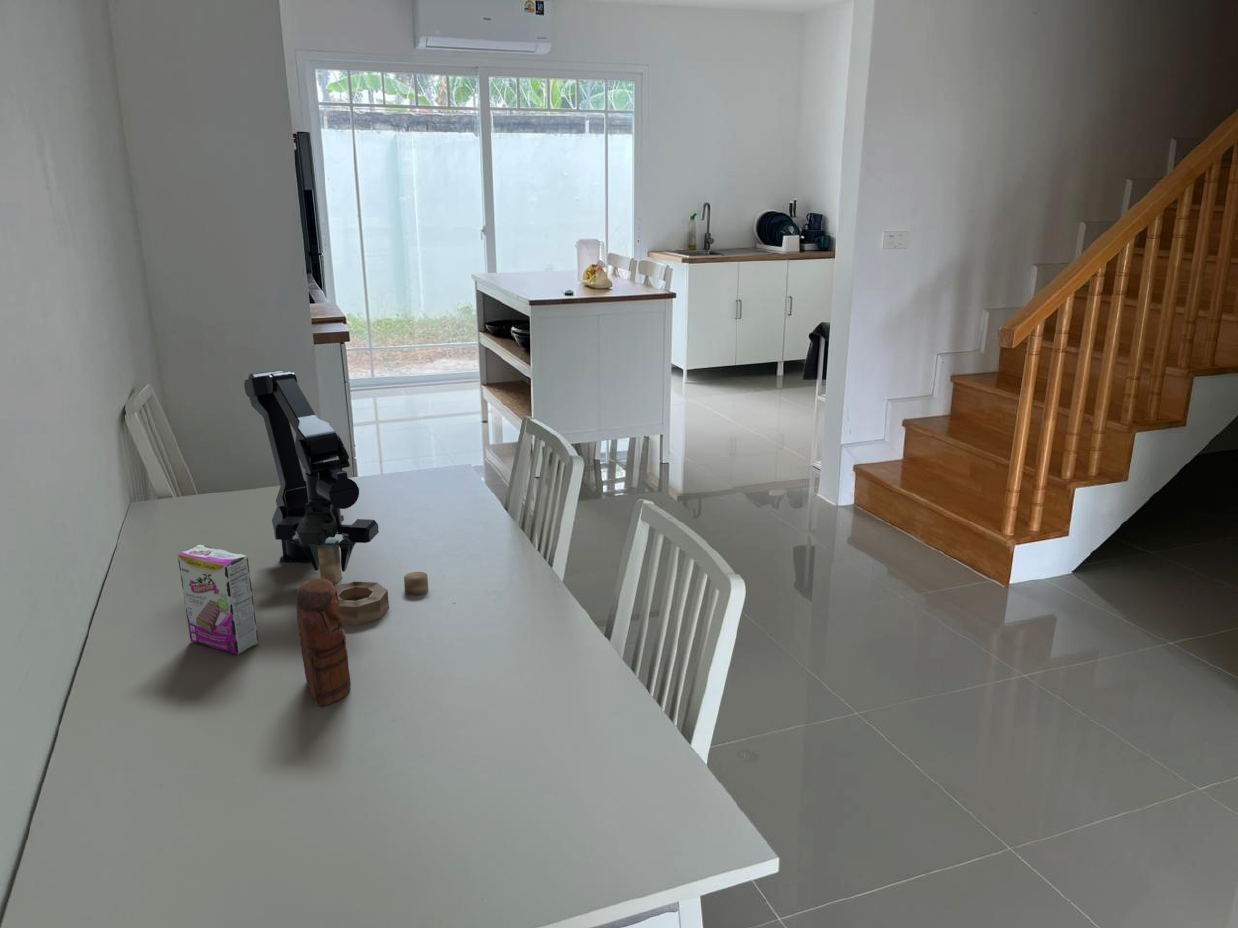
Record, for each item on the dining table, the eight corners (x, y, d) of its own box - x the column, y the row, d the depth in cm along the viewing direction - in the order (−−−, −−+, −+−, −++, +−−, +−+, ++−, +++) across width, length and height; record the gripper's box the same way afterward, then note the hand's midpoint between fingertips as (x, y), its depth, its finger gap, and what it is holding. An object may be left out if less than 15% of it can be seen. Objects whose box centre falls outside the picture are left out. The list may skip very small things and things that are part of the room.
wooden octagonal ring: (317, 623, 167) (316, 605, 166) (340, 597, 177) (338, 580, 176) (375, 625, 166) (373, 607, 165) (394, 600, 176) (393, 583, 175)
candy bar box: (188, 643, 160) (175, 553, 155) (211, 630, 164) (199, 543, 159) (237, 656, 155) (225, 564, 151) (260, 643, 160) (249, 553, 155)
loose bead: (401, 595, 178) (400, 580, 177) (409, 585, 183) (407, 571, 182) (424, 596, 178) (423, 581, 177) (431, 586, 182) (430, 572, 181)
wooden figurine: (356, 700, 143) (346, 591, 137) (313, 710, 140) (301, 599, 135) (341, 665, 153) (331, 562, 147) (300, 674, 150) (289, 569, 145)
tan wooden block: (321, 582, 183) (317, 544, 181) (327, 576, 186) (323, 538, 184) (336, 583, 183) (332, 545, 181) (341, 577, 186) (338, 539, 184)
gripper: (256, 507, 173) (266, 585, 177) (355, 510, 171) (362, 589, 176) (283, 488, 183) (291, 562, 188) (376, 491, 182) (382, 566, 186)
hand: (330, 570), depth 184 cm, fingers open, 5 cm apart
